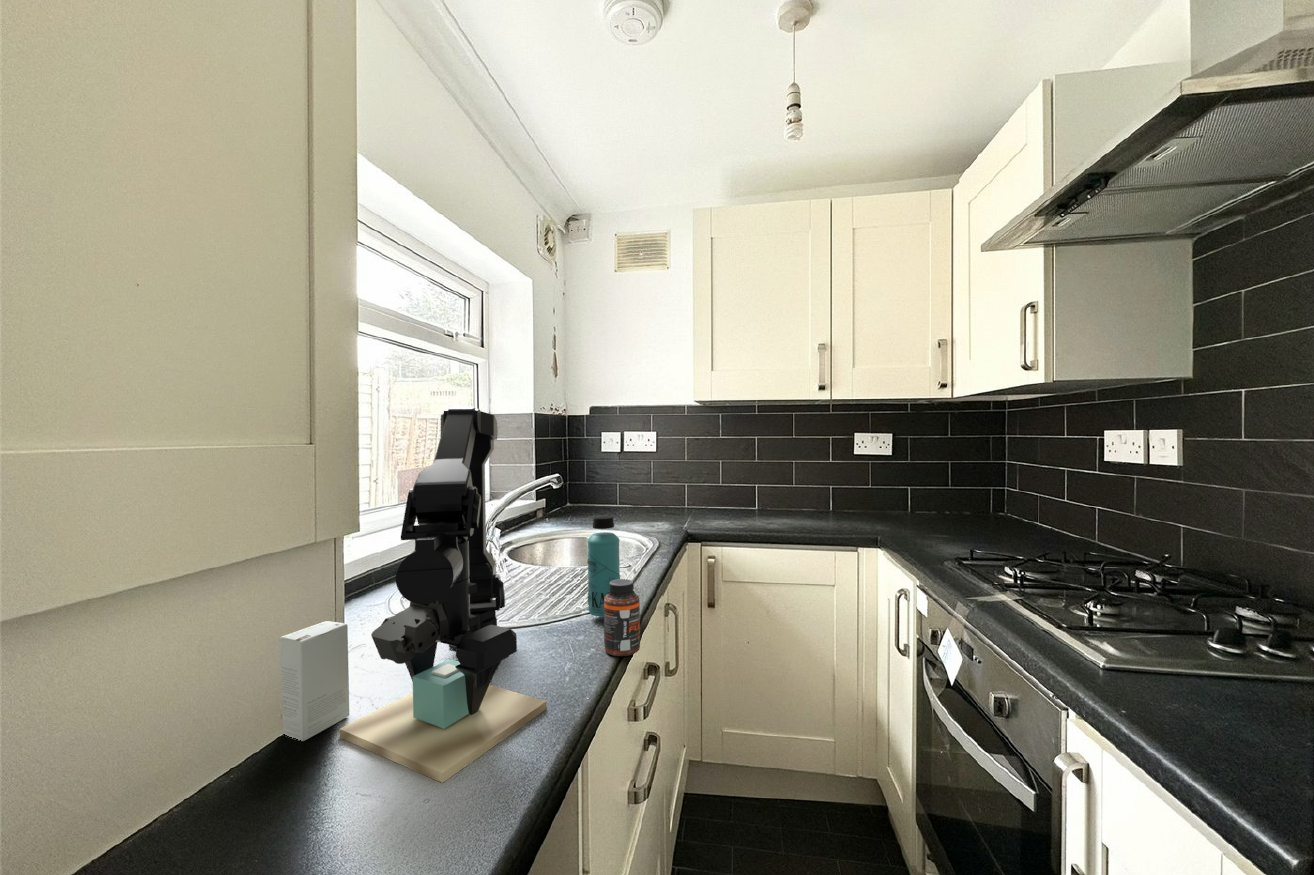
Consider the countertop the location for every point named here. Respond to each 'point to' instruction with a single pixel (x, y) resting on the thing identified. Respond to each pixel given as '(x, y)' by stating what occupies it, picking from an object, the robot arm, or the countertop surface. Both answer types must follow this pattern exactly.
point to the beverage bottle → (601, 564)
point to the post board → (442, 732)
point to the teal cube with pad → (440, 695)
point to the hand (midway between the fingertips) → (447, 704)
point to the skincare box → (314, 678)
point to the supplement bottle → (621, 619)
